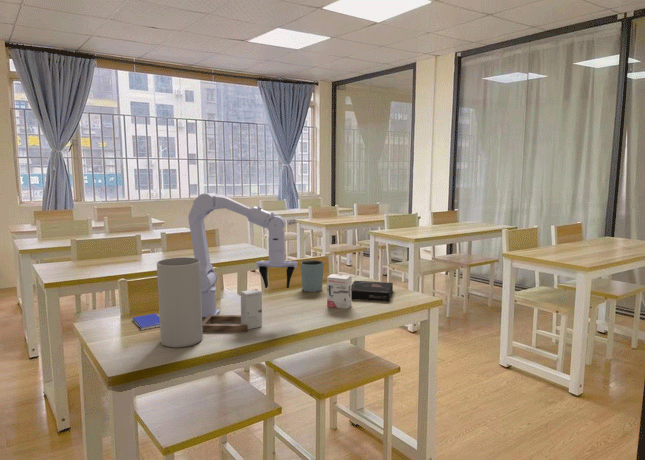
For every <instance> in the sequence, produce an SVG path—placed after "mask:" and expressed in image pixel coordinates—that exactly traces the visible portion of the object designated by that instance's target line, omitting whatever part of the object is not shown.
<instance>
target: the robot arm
mask: <svg viewBox="0 0 645 460" xmlns="http://www.w3.org/2000/svg"><path fill="white" fill-rule="evenodd" d="M192 203H193V204H192V207H191V208H190V211H189V213H188V216H187V218H188V224H189V231H190V236H191V237H190V239H191V243H192V249H193V250H192V251H193V258H196V259H199V260H200V275H201V301H202V318H207V317H208V316H209V315H219V312H221V310H220V309H217V288H216V286H215V284H216V283H217V281H218V275H217V273H216V272H215V271H214V266H213V264H212V263H211V259H210V258H211V257H210V252H209V246H208V239H207V231H206V225H205V224H206V223H205V219H206V218H207V217H208V215H210V214H211V212H213V211H214V210H223V209H227V210H229V211H232V212H234V213H236V214H239V215H242V216H244V217H246V219H247V221H248V222H249V223H252V224H254V225H257V226H259V227H260V228H264V229H267V231H268V260H262V261H260V260H259V261H256V262H255V266H256V269H258V271H259V273H260V275H261V277H262V281H263V284H264V288H265V289H267V288H268V287H269V277H268V275H269V273H268V271H269V269H268V268H278V269H279V268H286V289H289V288H290V284H291V283H290V282H291V279H292V276H293V274H294V270H295V269H297V268H298V261H291V260H286V248H285V247H286V246H285V245H286V244H285V243H286V237H285V228H286V220H285V218H284V217H283V216H282V215H280V214H275V212H270V211H267V210H264V209H263V207H262V206H253V207H248V206H247V205H245V204H242V203H241V202H238V201H236V200H235V199H232V198H230V197H228V196H225V195H223V194H218V193H216V192H213V191H209V192H207V193H201V194H199V195H198V196H197V197H196V198H195V199H194V200H193V201H192Z"/></svg>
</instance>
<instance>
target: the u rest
mask: <svg viewBox="0 0 645 460" xmlns="http://www.w3.org/2000/svg"><path fill="white" fill-rule="evenodd" d="M212 322H213V323H212ZM214 322H215V323H214ZM229 323H230V324H229ZM231 323H233V324H231ZM234 323H238V324H234ZM239 323H240V324H239ZM202 328H203V332H217V333H219V332H220V333H222V332H224V333H225V332H226V333H227V332H229V333H247V332H248V330H249V329H248V325H242V324H241V314H217V315H209V316H208V317H205V319H204V320H202Z"/></svg>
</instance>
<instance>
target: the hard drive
mask: <svg viewBox="0 0 645 460" xmlns="http://www.w3.org/2000/svg"><path fill="white" fill-rule="evenodd" d="M133 320H134V321H135V322H134V321H133ZM132 321H133V322H134V324H136V326H137V325H138V326H139V327H140V328H141V329H140V328H139V327H138V326H137V327H138V328H139V329H140V330H141V331H145V330H144V329H146V330H151V329H155V327H156V328H160V317H159V314H157V313H151V314H145V315H139V316H134V317H132ZM150 328H151V329H150Z"/></svg>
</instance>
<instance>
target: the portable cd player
mask: <svg viewBox="0 0 645 460" xmlns="http://www.w3.org/2000/svg"><path fill="white" fill-rule="evenodd" d="M393 285H394V282H384V281H370V280H369V281H366V280H365V281H364V280H354V281H353V282H352V283H351V300H358V301H359V300H360V301H373V302H375V301H376V302H387V303H388V302H390V300H391V297H392V293H393V289H394V287H393Z"/></svg>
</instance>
